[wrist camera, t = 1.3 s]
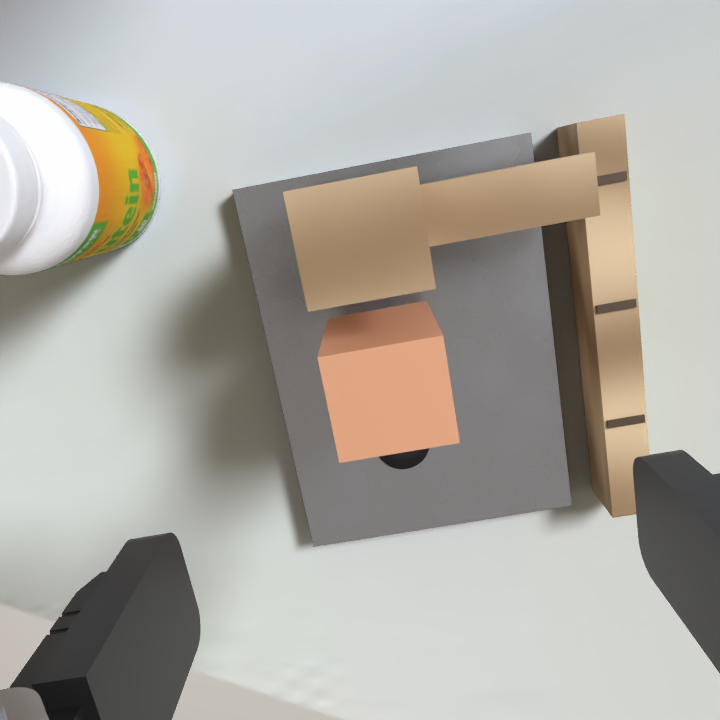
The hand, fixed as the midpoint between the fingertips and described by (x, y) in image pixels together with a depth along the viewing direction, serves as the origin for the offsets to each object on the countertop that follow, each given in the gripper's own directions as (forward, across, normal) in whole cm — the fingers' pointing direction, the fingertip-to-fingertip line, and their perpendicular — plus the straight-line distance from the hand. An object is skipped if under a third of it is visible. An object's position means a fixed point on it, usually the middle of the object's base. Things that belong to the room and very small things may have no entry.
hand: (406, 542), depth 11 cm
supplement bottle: (+16, +10, -8) cm, 20 cm away
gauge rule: (+16, -4, +1) cm, 16 cm away
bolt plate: (+16, -1, +1) cm, 16 cm away
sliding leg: (+14, 0, 0) cm, 14 cm away
